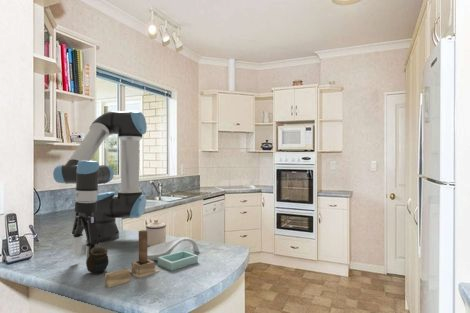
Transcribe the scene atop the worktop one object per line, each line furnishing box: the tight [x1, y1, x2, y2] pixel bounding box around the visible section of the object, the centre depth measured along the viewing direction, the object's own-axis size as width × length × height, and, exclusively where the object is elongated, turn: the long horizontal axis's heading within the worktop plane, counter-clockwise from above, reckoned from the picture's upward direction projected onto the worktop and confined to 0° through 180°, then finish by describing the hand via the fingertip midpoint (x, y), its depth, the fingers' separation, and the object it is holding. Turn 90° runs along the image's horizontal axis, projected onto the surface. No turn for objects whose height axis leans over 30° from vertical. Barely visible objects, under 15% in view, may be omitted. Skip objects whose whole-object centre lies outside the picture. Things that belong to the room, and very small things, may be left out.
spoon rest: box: [147, 236, 200, 262], centre depth 129 cm, size 24×12×7 cm, turn 121°
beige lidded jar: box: [145, 218, 167, 247], centre depth 147 cm, size 12×9×12 cm
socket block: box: [129, 259, 160, 279], centre depth 111 cm, size 8×8×4 cm
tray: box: [157, 250, 199, 272], centre depth 119 cm, size 9×12×3 cm
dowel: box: [138, 229, 148, 265], centre depth 111 cm, size 3×3×14 cm
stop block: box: [104, 267, 131, 288], centre depth 101 cm, size 3×7×4 cm, turn 136°
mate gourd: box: [85, 246, 109, 275], centre depth 111 cm, size 7×8×10 cm
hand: (83, 258), depth 118 cm, fingers open, 12 cm apart
